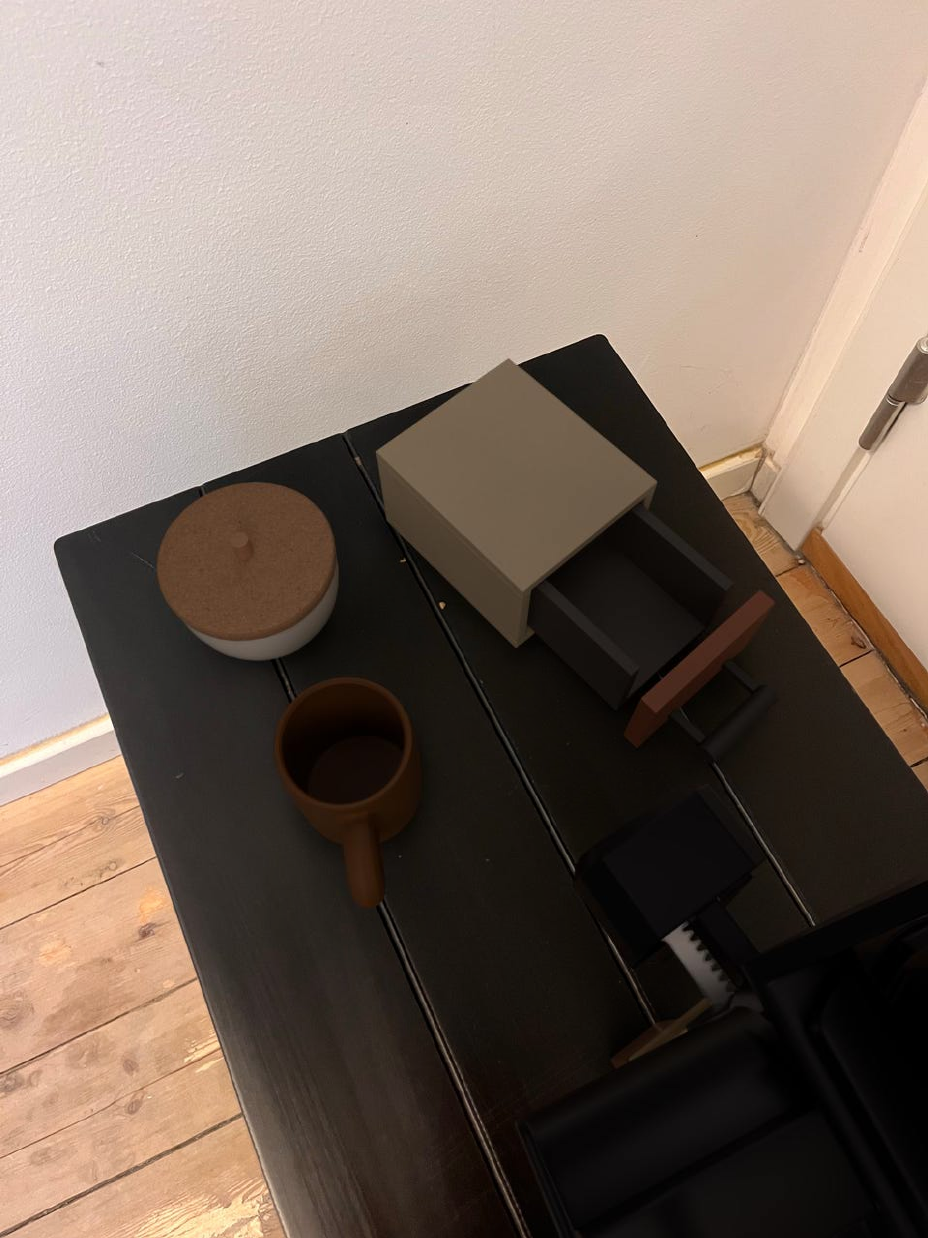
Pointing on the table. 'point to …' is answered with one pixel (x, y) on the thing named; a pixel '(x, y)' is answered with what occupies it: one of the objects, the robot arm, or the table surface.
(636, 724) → the drawer
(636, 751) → the table surface
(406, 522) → the cabinet
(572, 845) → the table surface
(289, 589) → the trinket box
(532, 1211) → the table surface
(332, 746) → the mug
